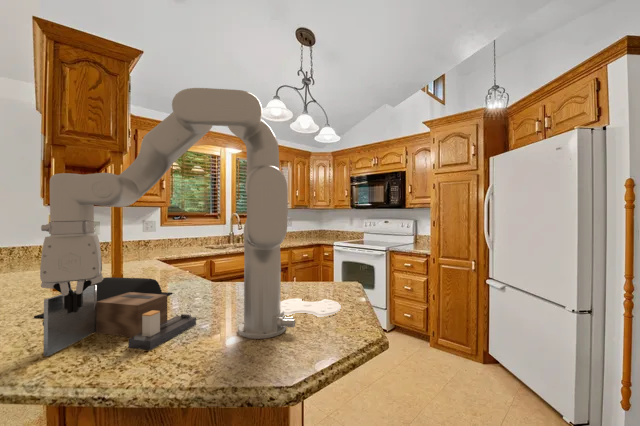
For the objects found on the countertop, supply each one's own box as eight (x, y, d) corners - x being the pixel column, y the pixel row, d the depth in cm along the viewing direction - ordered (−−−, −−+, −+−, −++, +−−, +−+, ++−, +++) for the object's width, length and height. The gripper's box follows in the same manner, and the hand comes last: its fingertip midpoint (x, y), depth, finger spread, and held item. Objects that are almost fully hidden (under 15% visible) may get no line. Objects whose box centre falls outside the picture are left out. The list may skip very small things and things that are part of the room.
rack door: (48, 356, 62) (48, 299, 62) (38, 356, 62) (38, 299, 63) (97, 331, 76) (97, 284, 76) (89, 331, 76) (89, 284, 76)
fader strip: (195, 324, 82) (195, 315, 82) (150, 350, 66) (150, 338, 66) (177, 322, 83) (177, 313, 83) (128, 347, 68) (128, 335, 68)
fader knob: (160, 331, 72) (160, 310, 72) (150, 336, 69) (150, 315, 69) (152, 330, 72) (152, 310, 72) (142, 335, 69) (142, 314, 69)
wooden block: (167, 323, 83) (167, 294, 83) (137, 337, 73) (137, 305, 73) (129, 319, 86) (129, 291, 86) (95, 332, 76) (96, 301, 76)
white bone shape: (279, 294, 109) (347, 296, 106) (279, 299, 109) (347, 301, 106) (261, 312, 89) (344, 316, 86) (261, 318, 89) (344, 321, 86)
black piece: (116, 293, 117) (34, 320, 87) (116, 272, 117) (34, 291, 87) (172, 295, 114) (107, 324, 84) (172, 273, 114) (107, 294, 84)
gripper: (20, 231, 59) (21, 323, 59) (111, 228, 66) (112, 310, 66) (34, 230, 66) (34, 312, 66) (115, 227, 73) (116, 301, 73)
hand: (73, 311), depth 66 cm, fingers closed
